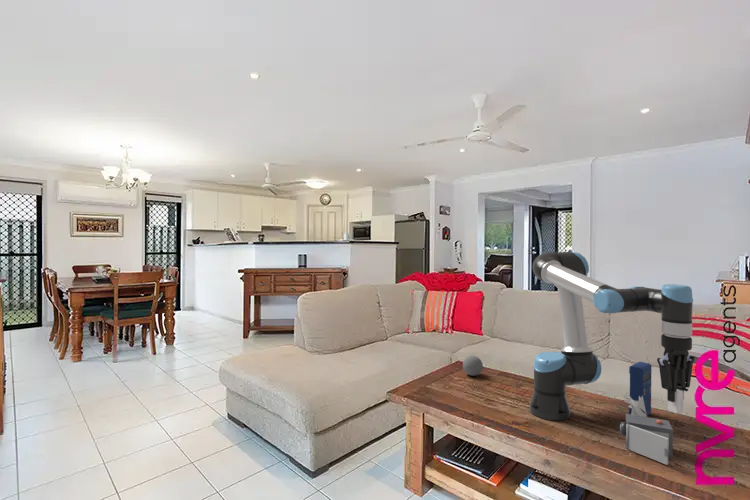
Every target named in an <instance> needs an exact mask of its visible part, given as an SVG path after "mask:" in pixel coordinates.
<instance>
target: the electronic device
mask: <svg viewBox="0 0 750 500" xmlns="http://www.w3.org/2000/svg"><path fill="white" fill-rule="evenodd" d="M628 370H629V372H628V373H629V396H630V397H631V398H632V399H633V400H635V401H636V400H637V401H639V396H640V398H642V396H643V401H644V405H645V409H646V413H645V412H644V411H643V410H642V409H641V408H640V409H641V410H642V412H643V413H645V414H647V415H646V416H647V417H648V416H649V415H650V414H651V413H652V364H650V363H649V362H643V361H638V362H635V363H634V364H632V365H630V366H629V369H628ZM629 405H630V404H629V403H628V406H629ZM631 412H632V409H631V408H629V407H628V414H631Z"/></svg>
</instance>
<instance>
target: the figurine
mask: <svg viewBox="0 0 750 500" xmlns="http://www.w3.org/2000/svg"><path fill="white" fill-rule="evenodd" d="M623 398H624V399H626V400H624V403H627V404H628V406H627V407H628V409H629V408H631V409H632V412H631V415H637V416H643V417H648V416H646V415H647V414H645V413H646V409H645V405H644V401H643V396H642V398H640V396H639V401H637V400H636V401H635V400H633V399H632V398H631V397H630V395H628V394H624V395H623ZM629 404H630V405H629ZM640 408H641V409H642V410H643V411H644V412H645V413H643V412H642V410H641V409H640Z"/></svg>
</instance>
